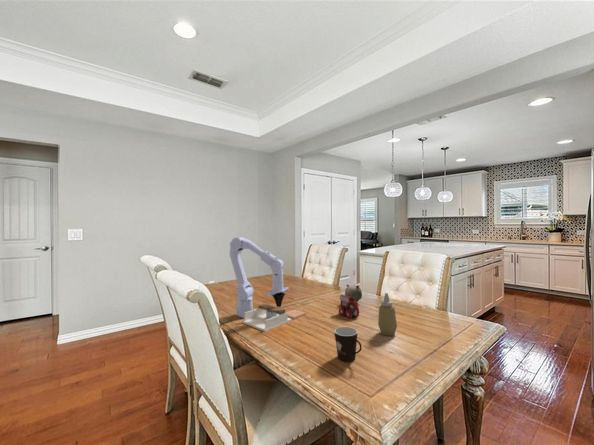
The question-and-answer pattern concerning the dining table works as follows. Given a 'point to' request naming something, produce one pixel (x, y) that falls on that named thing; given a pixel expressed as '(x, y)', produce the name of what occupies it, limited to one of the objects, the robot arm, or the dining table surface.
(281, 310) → the sliding bar
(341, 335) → the coffee mug
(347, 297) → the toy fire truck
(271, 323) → the puzzle board
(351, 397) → the dining table surface
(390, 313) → the squeeze bottle
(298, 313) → the salmon pink tile
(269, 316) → the slate block
